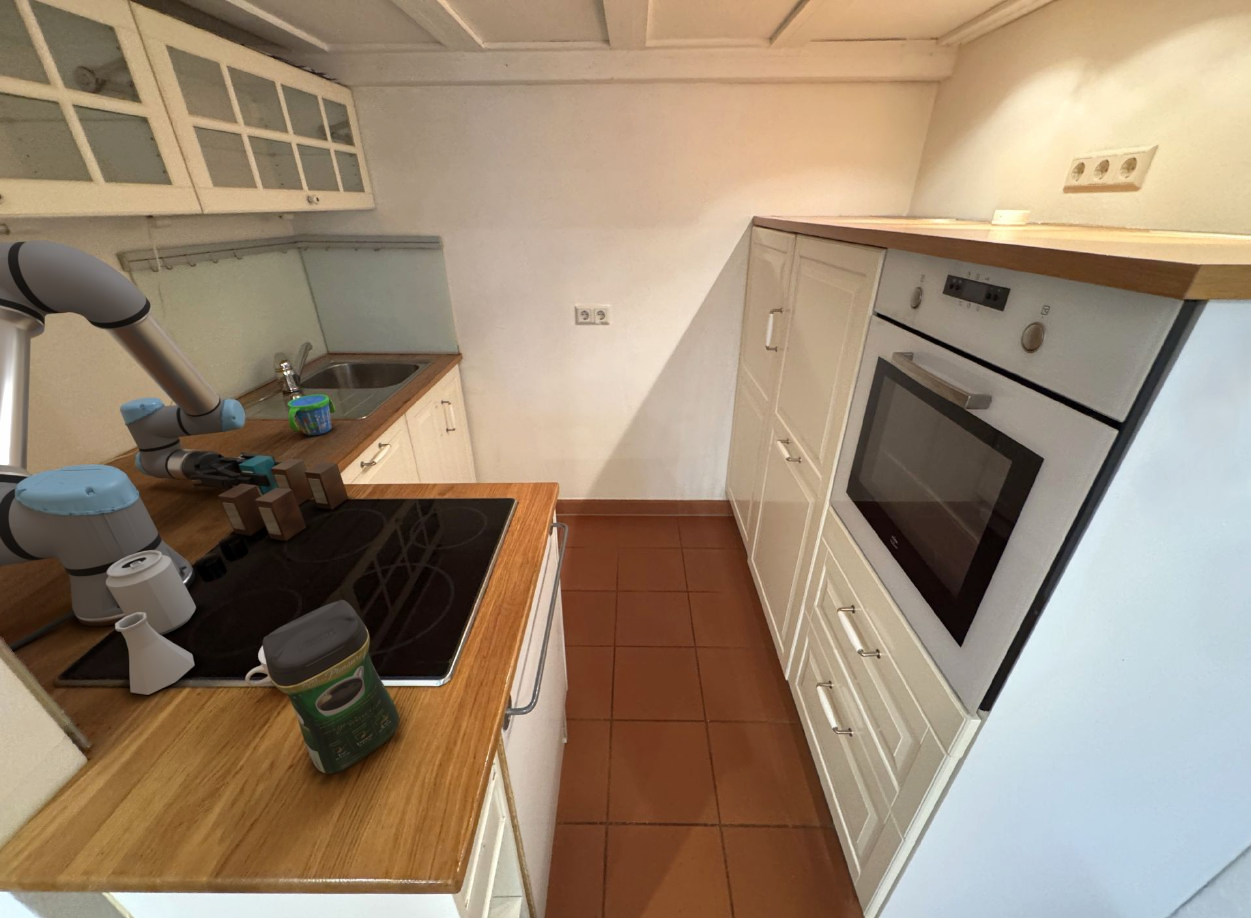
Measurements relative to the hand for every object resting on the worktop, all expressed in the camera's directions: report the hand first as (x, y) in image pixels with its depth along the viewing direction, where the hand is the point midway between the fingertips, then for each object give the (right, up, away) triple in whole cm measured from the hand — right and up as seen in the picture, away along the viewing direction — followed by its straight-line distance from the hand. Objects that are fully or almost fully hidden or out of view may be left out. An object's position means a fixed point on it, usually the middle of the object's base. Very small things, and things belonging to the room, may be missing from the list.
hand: (278, 474), depth 113 cm
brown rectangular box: (+4, -6, +2) cm, 7 cm away
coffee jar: (+46, -31, -52) cm, 76 cm away
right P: (+13, -6, 0) cm, 14 cm away
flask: (+13, -27, -42) cm, 52 cm away
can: (+6, -23, -33) cm, 40 cm away
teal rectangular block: (-5, -5, +4) cm, 8 cm away
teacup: (+33, -27, -43) cm, 60 cm away
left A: (+1, -11, -9) cm, 14 cm away
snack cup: (-15, +12, +39) cm, 43 cm away
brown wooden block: (+10, -12, -11) cm, 19 cm away
